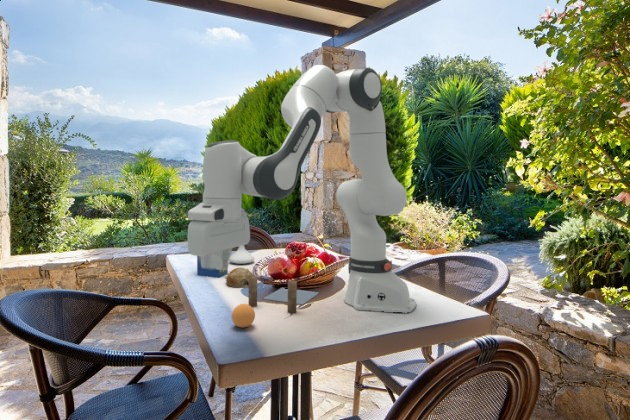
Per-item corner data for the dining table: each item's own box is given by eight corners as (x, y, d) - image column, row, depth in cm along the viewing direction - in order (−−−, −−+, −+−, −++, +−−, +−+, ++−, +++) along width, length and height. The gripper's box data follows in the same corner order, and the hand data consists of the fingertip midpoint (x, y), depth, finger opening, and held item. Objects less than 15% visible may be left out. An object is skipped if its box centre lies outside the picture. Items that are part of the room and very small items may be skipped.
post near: (297, 310, 120) (298, 281, 119) (294, 313, 117) (294, 283, 116) (289, 309, 121) (290, 279, 120) (285, 312, 118) (286, 282, 117)
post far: (258, 304, 124) (258, 276, 124) (254, 307, 122) (254, 277, 121) (251, 303, 125) (251, 275, 125) (246, 306, 123) (247, 277, 122)
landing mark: (319, 293, 138) (319, 292, 138) (302, 304, 125) (302, 304, 125) (282, 288, 143) (282, 287, 143) (262, 299, 130) (262, 298, 130)
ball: (259, 324, 108) (259, 302, 108) (247, 332, 103) (247, 309, 102) (239, 321, 110) (239, 299, 110) (227, 328, 105) (227, 306, 104)
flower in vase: (249, 259, 190) (249, 206, 188) (258, 264, 180) (258, 208, 178) (221, 261, 184) (221, 206, 182) (229, 266, 174) (229, 208, 172)
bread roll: (234, 299, 142) (241, 280, 139) (217, 282, 147) (223, 263, 144) (255, 292, 150) (262, 275, 147) (238, 277, 155) (244, 259, 152)
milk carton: (197, 275, 159) (196, 224, 157) (206, 271, 164) (205, 222, 163) (219, 277, 156) (219, 226, 154) (227, 274, 161) (227, 224, 160)
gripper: (235, 206, 106) (234, 259, 107) (182, 212, 87) (182, 276, 88) (256, 208, 103) (255, 261, 104) (206, 214, 84) (206, 279, 86)
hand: (221, 268), depth 96 cm, fingers closed
